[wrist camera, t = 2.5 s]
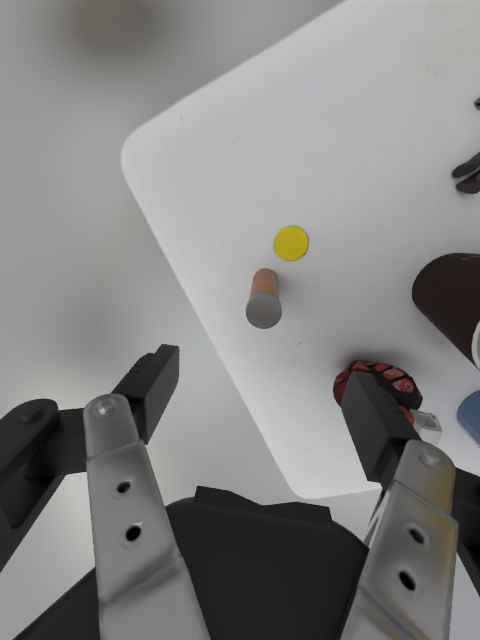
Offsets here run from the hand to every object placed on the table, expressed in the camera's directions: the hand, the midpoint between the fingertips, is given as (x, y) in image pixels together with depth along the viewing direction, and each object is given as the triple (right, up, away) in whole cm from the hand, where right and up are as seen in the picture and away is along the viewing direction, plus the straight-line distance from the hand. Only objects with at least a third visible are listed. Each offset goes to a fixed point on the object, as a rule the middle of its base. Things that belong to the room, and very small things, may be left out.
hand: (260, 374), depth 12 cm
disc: (+4, +10, +13) cm, 17 cm away
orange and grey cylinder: (+2, +7, +15) cm, 16 cm away
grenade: (+13, -3, +18) cm, 22 cm away
